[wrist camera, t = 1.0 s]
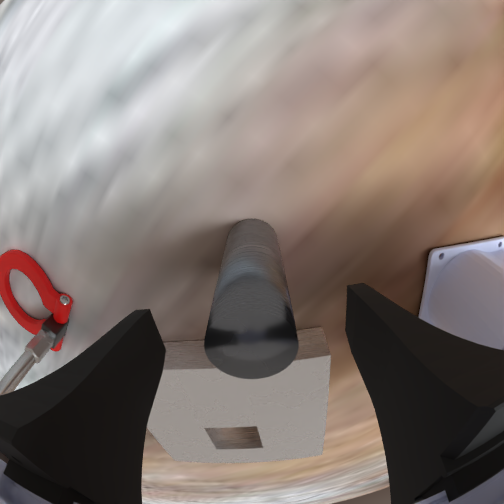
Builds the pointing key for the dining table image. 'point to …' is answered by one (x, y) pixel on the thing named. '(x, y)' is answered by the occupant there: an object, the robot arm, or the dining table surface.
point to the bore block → (242, 406)
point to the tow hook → (44, 330)
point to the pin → (251, 306)
